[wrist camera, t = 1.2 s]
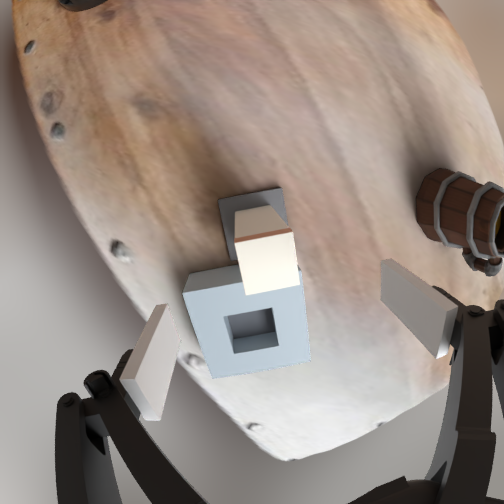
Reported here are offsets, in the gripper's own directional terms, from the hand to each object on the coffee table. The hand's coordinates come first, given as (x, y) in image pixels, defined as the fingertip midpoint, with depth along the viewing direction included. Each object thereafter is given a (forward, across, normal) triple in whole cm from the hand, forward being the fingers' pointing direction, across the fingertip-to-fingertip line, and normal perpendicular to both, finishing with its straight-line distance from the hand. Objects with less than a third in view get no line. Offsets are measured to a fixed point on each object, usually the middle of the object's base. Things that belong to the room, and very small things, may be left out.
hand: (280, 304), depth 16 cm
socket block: (+21, -3, -12) cm, 24 cm away
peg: (+20, 0, 0) cm, 20 cm away
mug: (+21, +31, -4) cm, 38 cm away
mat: (+21, 0, 0) cm, 21 cm away
